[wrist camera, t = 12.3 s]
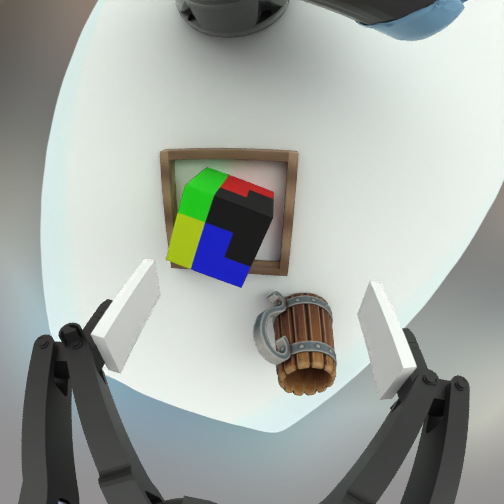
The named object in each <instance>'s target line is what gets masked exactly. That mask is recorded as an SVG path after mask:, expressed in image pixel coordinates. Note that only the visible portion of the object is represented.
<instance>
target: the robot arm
mask: <svg viewBox="0 0 504 504" xmlns="http://www.w3.org/2000/svg"><path fill="white" fill-rule="evenodd" d="M288 1H289V0H176V6H177V9H178V11H179V13H180V14H181V16H182V17H183V18H184V19H185V20H186V21H187V22H188V23H189V24H190V25H191V26H192V27H194V28H195V29H197V30H199V31H200V32H203V33H205V34H209V35H212V36H218V37H238V36H244V35H249V34H252V33H255V32H258V31H260V30H262V29H264V28H266V27H268V26H270V25H271V24H272V23H274V22H275V21H276V20H277V19H278V18H279V17H280V16H281V15H282V14H283V12H284V11H285V9H286V7H287V5H288ZM301 1H304V2H307V3H311V4H314V5H317V6H320V7H322V8H325V9H328V10H331V11H333V12H336V13H339V14H341V15H344V16H346V17H348V18H351V19H353V20H355V21H356V22H357V23H358V24H360V25H362V26H364V27H369V28H373V29H375V30H378V31H380V32H382V33H384V34H386V35H388V36H390V37H392V38H395V39H398V40H406V41H417V40H422V39H425V38H428V37H430V36H432V35H434V34H436V33H438V32H440V31H441V30H443V29H444V28H446V27H447V26H448V25H449V24H451V23H452V22H453V21H454V20H455V19H456V18H457V17H458V16H459V15H460V13H461V12H462V11H463V9H464V5H463V3H464V2H465V1H467V0H301ZM159 297H160V289H159V283H158V277H157V271H156V264H155V260H151V259H143V261H142V262H141V263H140V264H139V266H138V267H137V268H136V270H135V271H134V272H133V274H132V275H131V277H130V278H129V279H128V281H127V282H126V283H125V285H124V286H123V287H122V289H121V290H120V292H119V293H118V294H117V296H116V297H115V299H114V300H109V299H107V300H106V301H104V302H103V303H102V304H100V306H99V307H98V308H97V310H96V312H95V313H94V314H93V316H92V317H91V318H90V320H89V321H88V323H87V324H86V326H85V327H84V329H83V330H82V328H81V326H80V325H79V324H77V323H68V324H66V325H64V326H63V327H62V328H61V329H60V331H59V338H60V339H61V341H62V342H55V341H54V340H53V338H52V336H50V335H42V336H40V337H38V338H37V340H36V341H35V343H34V346H33V351H32V355H31V360H30V365H29V371H28V377H27V384H26V390H25V400H24V408H23V421H22V475H23V483H22V488H21V493H20V498H19V503H18V504H79V493H78V487H77V480H76V472H75V465H74V455H73V442H72V419H71V397H72V390H73V394H74V398H75V403H76V406H77V410H78V414H79V417H80V421H81V424H82V428H83V431H84V434H85V437H86V440H87V443H88V446H89V449H90V452H91V454H92V457H93V459H94V462H95V465H96V467H97V470H98V472H99V476H100V477H99V479H98V481H99V485H100V488H101V490H102V492H103V494H104V497H105V499H106V501H107V503H108V504H217V503H214V502H211V501H208V500H203V499H198V498H192V497H188V496H184V498H176V499H170V500H166V501H165V500H164V499H163V497H162V496H161V494H160V493H159V491H158V490H157V488H156V487H155V486H154V484H153V483H152V482H151V480H150V479H149V477H148V475H147V474H146V472H145V470H144V468H143V466H142V464H141V462H140V460H139V458H138V456H137V454H136V452H135V450H134V448H133V446H132V444H131V442H130V440H129V437H128V435H127V433H126V431H125V428H124V426H123V423H122V421H121V419H120V416H119V414H118V411H117V409H116V406H115V403H114V401H113V398H112V395H111V393H110V390H109V387H108V384H107V381H106V377H105V374H104V371H103V370H102V367H103V366H104V364H106V366H107V368H108V370H111V371H114V372H117V373H121V371H122V369H123V367H124V365H125V363H126V361H127V359H128V357H129V355H130V353H131V351H132V349H133V347H134V345H135V343H136V341H137V339H138V337H139V335H140V333H141V331H142V329H143V327H144V325H145V323H146V321H147V319H148V317H149V315H150V314H151V312H152V310H153V308H154V306H155V304H156V302H157V301H158V299H159ZM357 315H358V318H359V321H360V325H361V328H362V332H363V335H364V339H365V343H366V346H367V350H368V354H369V358H370V362H371V366H372V370H373V373H374V378H375V382H376V387H377V391H378V396H379V399H380V400H382V399H392V398H393V397H394V395H395V394H396V393H397V394H398V397H399V399H398V400H397V401H396V402H395V403H394V404H393V405H392V406H391V408H390V409H391V411H390V413H389V414H388V416H387V418H386V419H385V421H384V423H383V424H382V426H381V427H380V429H379V430H378V432H377V434H376V435H375V436H374V438H373V439H372V441H371V442H370V444H369V445H368V447H367V448H366V449H365V451H364V452H363V454H362V455H361V456H360V458H359V459H358V460H357V462H356V463H355V464H354V465H353V467H352V468H351V469H350V471H349V472H348V473H347V474H346V476H345V477H344V478H343V479H342V480H341V482H340V483H339V484H338V485H337V486H336V487H335V489H334V490H333V491H332V492H331V493H330V494H329V495H328V496H327V497H326V498H325V499H324V500H323V501H322V502H320V503H319V504H376V502H377V501H378V500H379V498H380V497H381V495H382V494H383V492H384V491H385V490H386V488H387V487H388V485H389V484H390V482H391V481H392V479H393V478H394V476H395V474H396V473H397V471H398V469H399V468H400V466H401V464H402V463H403V461H404V459H405V458H406V456H407V454H408V452H409V450H410V448H411V447H412V445H413V443H414V441H415V439H416V437H417V435H418V433H419V431H420V428H421V427H422V425H423V428H422V433H421V437H420V441H419V446H418V450H417V454H416V457H415V461H414V465H413V468H412V472H411V475H410V478H409V481H408V484H407V487H406V490H405V492H404V495H403V498H402V501H401V503H400V504H454V502H455V498H456V494H457V490H458V486H459V482H460V478H461V473H462V467H463V462H464V455H465V448H466V440H467V431H468V419H469V391H470V390H469V383H468V382H467V380H466V379H465V378H464V377H462V376H458V375H457V376H454V377H453V378H452V380H451V381H447V380H441V379H439V378H438V376H437V375H436V373H435V372H433V371H432V370H429V369H428V368H427V365H426V363H425V360H424V358H423V355H422V353H421V351H420V349H419V346H418V343H417V341H416V338H415V336H414V334H413V333H412V332H411V331H410V330H409V329H408V328H401V325H400V323H399V321H398V318H397V316H396V314H395V311H394V309H393V307H392V305H391V302H390V300H389V298H388V296H387V294H386V292H385V289H384V287H383V285H382V283H381V282H380V281H370V282H369V285H368V287H367V290H366V293H365V296H364V298H363V301H362V304H361V306H360V309H359V312H358V314H357ZM423 422H424V423H423Z"/></svg>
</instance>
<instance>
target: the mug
mask: <svg viewBox="0 0 504 504" xmlns="http://www.w3.org/2000/svg"><path fill="white" fill-rule="evenodd" d="M267 300H268V301H270V302H271V303H272V302H274V303H275V305H276V307H271V308H268V309H267V310H265V311H264V312H263V313H261V314H260V315H259V316H258V317H257V319H256V321H255V324H254V328H253V337H254V341H255V344H256V347H257V349H258V351H259V353H260V354H261V355H262V357H263V358H264V359H265V360H267V361H268V362H270V363H272V364H276V371H277V375H278V382H279V385H280V386H281V387H282V388H283V389H284V391H286V392H287V393H292V392H293V393H294V394H295V395H299V396H301V395H303V393H305V394H306V395H314V394H315V393H316V391H318V392H319V393H320V392H323V391H325V390H326V388H327V387H330V386H332V384H333V383H334V380H335V377H336V365H337V363H336V354H335V351H334V340H333V330H332V321H333V319H332V312H331V309H330V307H329V306H328V303H327V302H326V301H325V300H324V299H323V298H322V297H318V296H317V295H315V294H310V293H299V294H294V295H291V296H289V297H287V298H285V299H284V297H283V296H282V295H281V294H280V293H279V292H277V291H276V292H274V293H272V294H271V295H270V296H268V298H267ZM269 317H273V327H274V332H275V344H276V350H275V349H274V348H273V347H272V346H271V344H270V342H269V340H268V337H267V333H266V325H267V321H268V318H269Z"/></svg>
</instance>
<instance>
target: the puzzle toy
mask: <svg viewBox="0 0 504 504" xmlns="http://www.w3.org/2000/svg"><path fill="white" fill-rule="evenodd" d="M273 198H274V192H272V191H270V190H267V189H265V188H262V187H260V186H257V185H254V184H252V183H249V182H246V181H244V180H241V179H238V178H236V177H233V176H230V175H228V174H225V173H222V172H219V171H216V170H214V169H211V168H208V167H207V168H205V169H204V170H203V171H202V172H201V173H199V174H198V175H197V176H196V177H195V178H193V179H192V180H191V181H190V182H189V183H187V184H186V185H185V188H184V192H183V195H182V199H181V202H180V206H179V210H178V213H177V217H176V221H175V225H174V229H173V233H172V237H171V241H170V245H169V249H168V253H167V258H166V260H168V261H170V262H173V263H176V264H178V265H181V266H183V267H186V268H189V269H191V270H194V271H197V272H199V273H202V274H205V275H207V276H210V277H213V278H216V279H218V280H221V281H224V282H226V283H229V284H232V285H235V286H238V287H240V288H242V286H243V283H244V281H245V279H246V277H247V274H248V272H249V270H250V268H251V266H252V263H253V261H254V259H255V257H256V255H257V252H258V250H259V248H260V246H261V243H262V241H263V239H264V237H265V234H266V232H267V230H268V228H269V226H270V223H271V221H272V219H273Z"/></svg>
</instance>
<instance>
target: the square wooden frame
mask: <svg viewBox="0 0 504 504" xmlns="http://www.w3.org/2000/svg"><path fill="white" fill-rule="evenodd" d="M178 159H244V160H268V161H285V162H287V178H286V192H285V206H284V220H283V232H282V244H281V256H280V261H264V260H254V261H253V263H252V266H251V268H250V270H249V272H248V274H262V275H278V276H287V274H288V265H289V256H290V247H291V237H292V226H293V215H294V204H295V192H296V180H297V166H298V152H297V151H287V150H271V149H247V148H189V149H166V150H163V151H161V152H160V163H161V179H162V192H163V203H164V213H165V223H166V232H167V240H168V248H169V245H170V241H171V237H172V233H173V229H174V225H175V221H176V217H177V203H176V188H175V171H174V160H178ZM170 263H171V268H179V269H189V268H186V267H183V266H181V265H178V264H176V263H173V262H170Z"/></svg>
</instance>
